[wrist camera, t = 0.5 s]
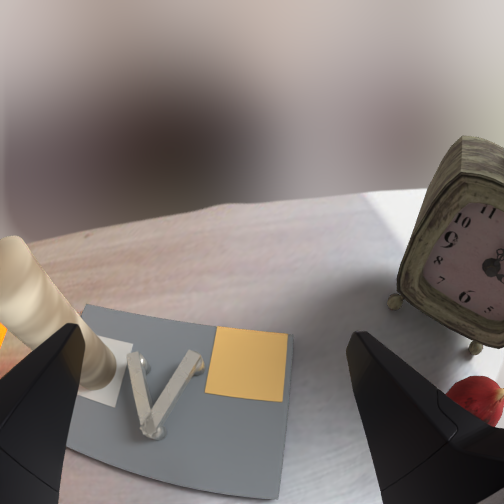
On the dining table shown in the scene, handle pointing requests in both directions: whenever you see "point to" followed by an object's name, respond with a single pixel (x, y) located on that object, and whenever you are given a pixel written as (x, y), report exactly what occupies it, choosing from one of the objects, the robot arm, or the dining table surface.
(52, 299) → the peg
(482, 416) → the onion
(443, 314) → the tabletop clock
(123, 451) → the board
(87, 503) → the dining table surface
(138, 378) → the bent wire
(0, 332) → the orange juice
